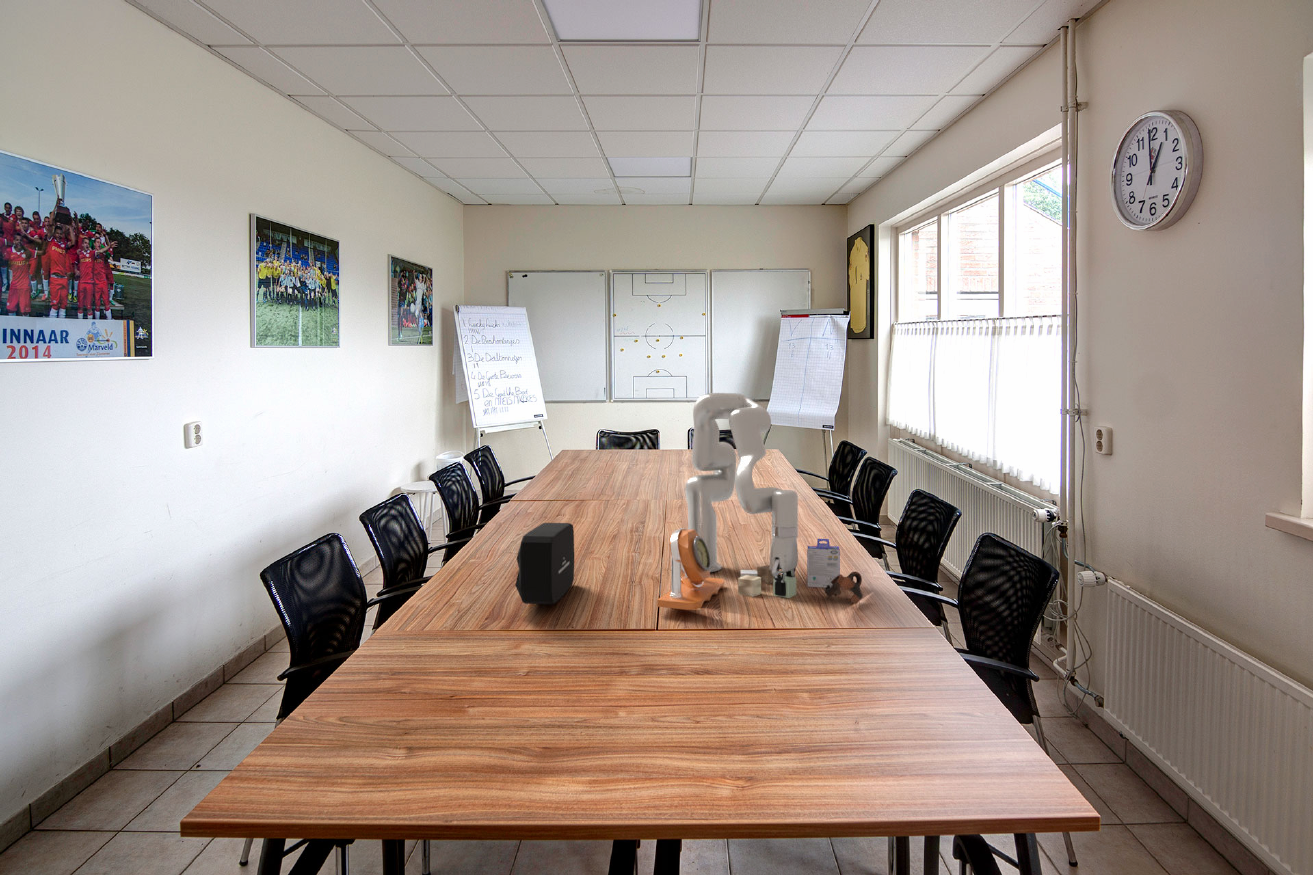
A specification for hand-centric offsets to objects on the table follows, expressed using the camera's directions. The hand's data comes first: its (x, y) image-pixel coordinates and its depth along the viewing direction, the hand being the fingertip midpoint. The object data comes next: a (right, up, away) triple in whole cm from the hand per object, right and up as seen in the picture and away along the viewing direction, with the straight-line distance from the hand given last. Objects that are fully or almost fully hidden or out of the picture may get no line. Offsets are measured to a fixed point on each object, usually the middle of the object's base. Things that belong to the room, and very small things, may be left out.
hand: (784, 592), depth 209 cm
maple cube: (-10, -1, +1) cm, 10 cm away
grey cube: (-9, -1, +9) cm, 13 cm away
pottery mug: (+20, -1, -6) cm, 21 cm away
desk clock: (-27, -1, -1) cm, 27 cm away
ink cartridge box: (+14, -1, +11) cm, 18 cm away
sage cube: (0, -1, 0) cm, 1 cm away
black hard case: (-71, -1, +2) cm, 71 cm away
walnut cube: (-2, 0, +15) cm, 16 cm away
